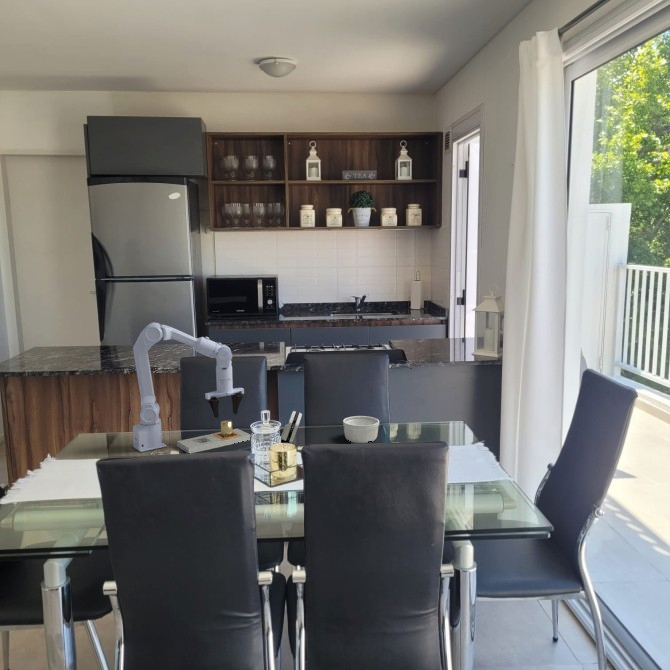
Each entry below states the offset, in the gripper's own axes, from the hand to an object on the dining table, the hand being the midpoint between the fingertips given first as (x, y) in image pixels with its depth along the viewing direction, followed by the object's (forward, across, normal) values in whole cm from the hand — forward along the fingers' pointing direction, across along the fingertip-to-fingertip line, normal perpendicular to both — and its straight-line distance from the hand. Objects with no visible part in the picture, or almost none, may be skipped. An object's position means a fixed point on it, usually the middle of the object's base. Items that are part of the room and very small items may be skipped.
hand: (225, 415), depth 212 cm
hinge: (+10, +22, -10) cm, 26 cm away
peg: (+9, 0, 0) cm, 9 cm away
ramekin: (+10, +39, -30) cm, 50 cm away
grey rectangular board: (+9, -5, 0) cm, 11 cm away
